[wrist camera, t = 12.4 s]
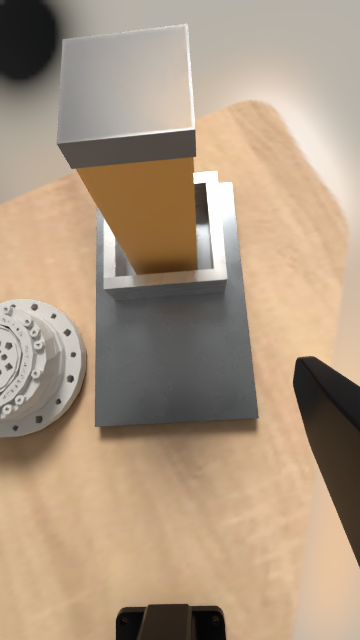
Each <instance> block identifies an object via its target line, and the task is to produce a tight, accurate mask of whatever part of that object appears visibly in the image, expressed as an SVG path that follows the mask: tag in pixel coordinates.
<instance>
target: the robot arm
mask: <svg viewBox="0 0 360 640" xmlns="http://www.w3.org/2000/svg"><path fill="white" fill-rule="evenodd" d="M293 387H294V391H295V395H296V398H297V402H298V406H299V409H300V413H301V416H302V420H303V423H304V427H305V431H306V434H307V437H308V441H309V444H310V446H311V449H312V452H313V454H314V457H315V459H316V462H317V464H318V466H319V469H320V471H321V473H322V476H323V479H324V481H325V483H326V486H327V488H328V491H329V493H330V496H331V498H332V501H333V503H334V506H335V508H336V510H337V513H338V515H339V518H340V520H341V523H342V525H343V528H344V530H345V533H346V535H347V537H348V540H349V542H350V545H351V547H352V549H353V552H354V555H355V557H356V560H357V562H358V565H359V566H360V387H359V386H358V385H356V384H355V383H353V382H352V381H350V380H349V379H347V378H346V377H344V376H343V375H341V374H340V373H338V372H337V371H335V370H334V369H332V368H331V367H329V366H328V365H326V364H325V363H323V362H322V361H320V360H319V359H317V358H316V357H313V356H307V357H299V358H297V360H296V364H295V371H294V378H293ZM215 615H216V616H218V617H219V620H217V621H214V620H213V619H212V617H213V616H215ZM122 617H126V618H127V619H128V622H124V621H123V620H122ZM116 640H226V636H225V623H224V614H223V611H222V610H221V608H219V607H218V606H189V605H188V604H156V605H148V606H147V607H125V608H122V609H121V610H120V611H119V613H118V616H117V618H116Z"/></svg>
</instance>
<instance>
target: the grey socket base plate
mask: <svg viewBox="0 0 360 640" xmlns="http://www.w3.org/2000/svg"><path fill="white" fill-rule="evenodd" d="M194 187H195V213H196V238H197V264H198V270H193V271H181V272H169V273H157V274H145V275H136V273H135V271H134V269H133V268H132V266H131V264H130V262H129V261H128V259H127V257H126V255H125V254H124V252H123V250H122V248H121V247H120V245H119V243H118V242H117V240H116V238H115V236H114V235H113V233H112V231H111V229H110V228H109V226H108V224H107V222H106V221H105V219H104V217H103V215H102V214H101V212H100V210H99V208H98V207H97V255H96V368H95V427H102V426H121V425H140V424H159V423H178V422H197V421H216V420H235V419H253V418H259V417H258V408H257V400H256V391H255V382H254V373H253V364H252V356H251V347H250V338H249V329H248V320H247V312H246V303H245V294H244V285H243V277H242V268H241V259H240V250H239V241H238V233H237V224H236V215H235V206H234V197H233V189H232V182H229V183H219V184H218V180H217V171H214V172H204V173H194Z"/></svg>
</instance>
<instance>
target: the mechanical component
mask: <svg viewBox="0 0 360 640" xmlns="http://www.w3.org/2000/svg"><path fill="white" fill-rule="evenodd" d="M70 334H71V335H70ZM86 357H87V351H86V348H85V345H84V342H83V338H82V335H81V333H80V331H79V330H78V328H77V326H76V325H75V323H74V322H73V321H72V320H71V319H70V318H69V317H68V316H67V315H66V314H65V313H63V312H62V311H60V310H58V309H57V308H55V307H53V306H51V305H49V304H46V303H44V302H41V301H38V300H31V299H15V300H9V301H6V302H3V303H0V438H2V437H17V436H23V435H26V434H30V433H33V432H36V431H40V430H42V429H44V428H45V427H47V426H48V425H50V424H51V423H53V422H54V421H56V420H57V419H59V418H60V417H61V416H62V415H63V414H64V413H65V412H66V411H67V410H68V409H69V408H70V407H71V405H72V403H73V402H74V400H75V399H76V397H77V395H78V394H79V392H80V390H81V386H82V383H83V380H84V376H85V373H86ZM73 378H74V381H73Z"/></svg>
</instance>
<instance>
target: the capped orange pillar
mask: <svg viewBox="0 0 360 640" xmlns="http://www.w3.org/2000/svg"><path fill="white" fill-rule="evenodd" d="M191 78H192V77H191V65H190V51H189V37H188V24H183V25H175V26H167V27H160V28H152V29H143V30H135V31H127V32H119V33H111V34H104V35H95V36H87V37H79V38H71V39H63V46H62V63H61V81H60V97H59V115H58V132H57V145H58V146H59V148H60V150H61V152H62V153H63V155H64V157H65V158H66V160H67V162H68V163H69V165H70V167H71V168H72V169H75V168H76V170H77V172H78V174H79V175H80V177H81V179H82V181H83V182H84V184H85V186H86V188H87V189H88V191H89V193H90V195H91V196H92V198H93V200H94V202H95V203H96V205H97V207H98V208H99V210H100V212H101V214H102V215H103V217H104V219H105V221H106V222H107V224H108V226H109V228H110V229H111V231H112V233H113V235H114V236H115V238H116V240H117V242H118V243H119V245H120V247H121V248H122V250H123V252H124V254H125V255H126V257H127V259H128V261H129V262H130V264H131V266H132V268H133V269H134V271H135V273H136V275H145V274H157V273H169V272H181V271H193V270H198V264H197V238H196V213H195V187H194V162H193V157H196V138H195V119H194V106H193V91H192V79H191Z"/></svg>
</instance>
